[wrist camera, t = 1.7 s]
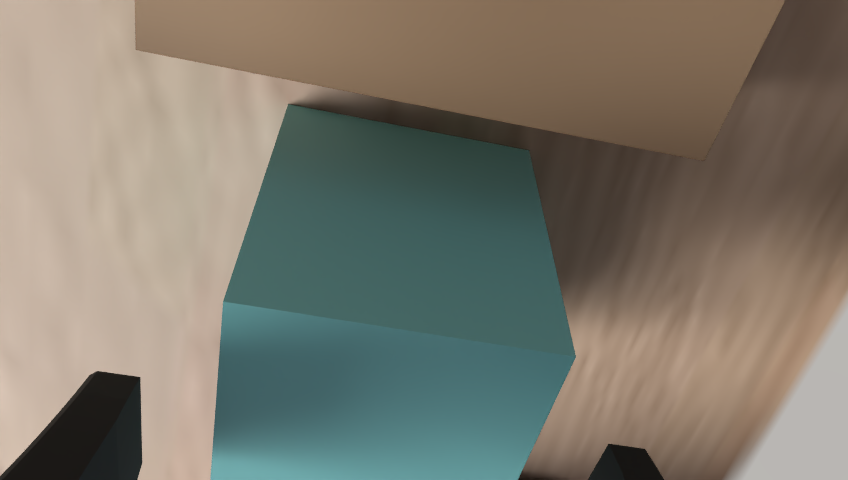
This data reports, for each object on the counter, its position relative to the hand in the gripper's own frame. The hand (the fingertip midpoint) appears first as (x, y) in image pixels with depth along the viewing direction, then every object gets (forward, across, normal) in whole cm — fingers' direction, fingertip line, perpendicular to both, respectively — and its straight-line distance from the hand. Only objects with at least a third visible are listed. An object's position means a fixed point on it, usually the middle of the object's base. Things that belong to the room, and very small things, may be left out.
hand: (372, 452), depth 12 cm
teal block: (+6, 0, 0) cm, 6 cm away
